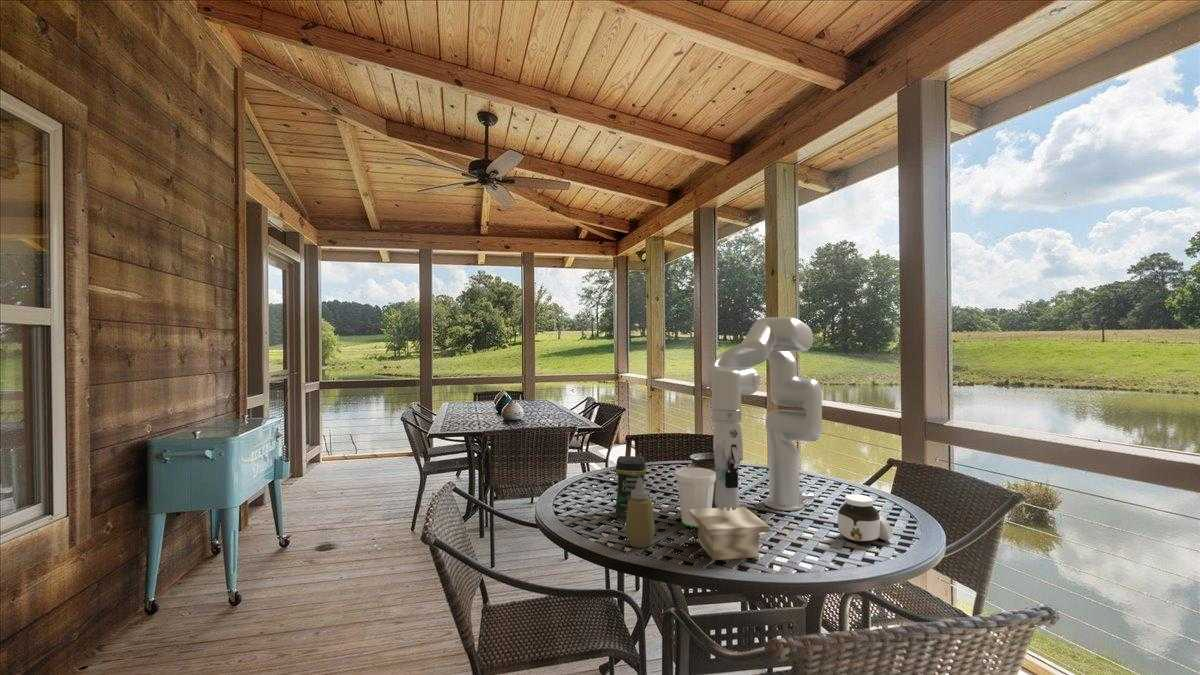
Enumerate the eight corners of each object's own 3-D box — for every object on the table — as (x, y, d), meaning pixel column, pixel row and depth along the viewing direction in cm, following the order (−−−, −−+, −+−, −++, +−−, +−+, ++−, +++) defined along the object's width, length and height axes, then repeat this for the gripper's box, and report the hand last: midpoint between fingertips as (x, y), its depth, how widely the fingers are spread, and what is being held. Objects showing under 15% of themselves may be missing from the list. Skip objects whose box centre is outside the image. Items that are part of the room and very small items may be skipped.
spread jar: (834, 538, 151) (833, 496, 151) (855, 529, 158) (855, 489, 158) (877, 551, 141) (877, 506, 141) (898, 541, 148) (897, 498, 148)
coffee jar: (614, 518, 168) (613, 458, 168) (617, 510, 176) (616, 453, 176) (645, 520, 167) (645, 459, 167) (647, 511, 175) (646, 454, 175)
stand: (744, 536, 152) (744, 506, 152) (769, 559, 137) (769, 526, 137) (689, 540, 150) (689, 509, 150) (708, 563, 134) (707, 529, 134)
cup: (723, 528, 159) (723, 476, 159) (682, 531, 157) (682, 478, 157) (708, 515, 171) (707, 466, 171) (670, 517, 169) (669, 468, 169)
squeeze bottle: (625, 538, 152) (624, 474, 152) (654, 538, 151) (653, 474, 151) (625, 550, 144) (625, 482, 144) (656, 550, 143) (655, 482, 143)
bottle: (738, 504, 146) (737, 430, 146) (742, 512, 140) (741, 435, 140) (712, 504, 147) (712, 430, 147) (715, 512, 140) (715, 434, 140)
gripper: (753, 420, 135) (754, 492, 135) (728, 411, 152) (728, 475, 152) (724, 421, 134) (725, 494, 134) (702, 411, 151) (702, 476, 151)
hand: (727, 483), depth 143 cm, fingers closed on bottle, 5 cm apart
